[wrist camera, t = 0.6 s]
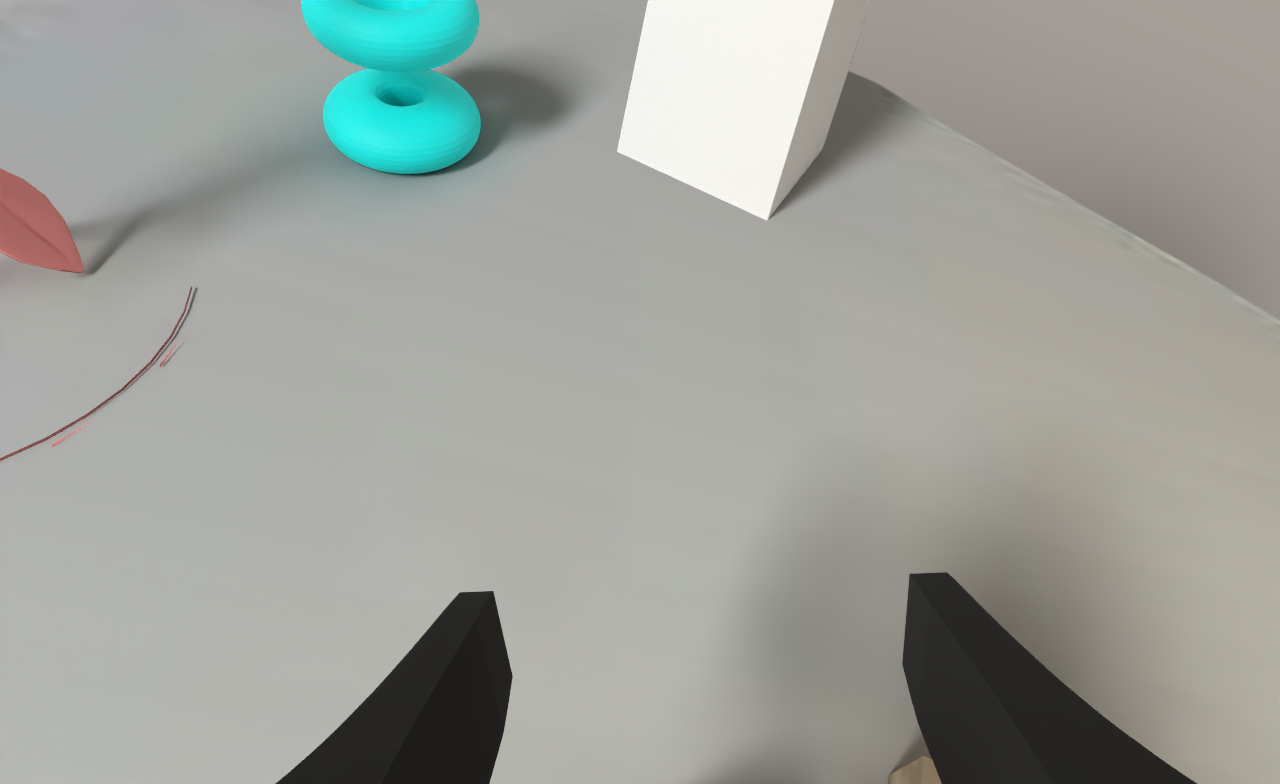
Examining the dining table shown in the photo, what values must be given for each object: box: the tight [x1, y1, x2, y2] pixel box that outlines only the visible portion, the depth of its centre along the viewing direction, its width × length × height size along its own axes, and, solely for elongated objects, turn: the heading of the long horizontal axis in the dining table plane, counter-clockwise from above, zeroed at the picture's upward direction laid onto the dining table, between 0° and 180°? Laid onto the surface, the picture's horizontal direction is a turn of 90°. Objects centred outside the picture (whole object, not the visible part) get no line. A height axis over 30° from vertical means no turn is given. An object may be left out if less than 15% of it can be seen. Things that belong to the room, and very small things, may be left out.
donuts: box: [301, 0, 481, 174], centre depth 46 cm, size 10×10×10 cm
